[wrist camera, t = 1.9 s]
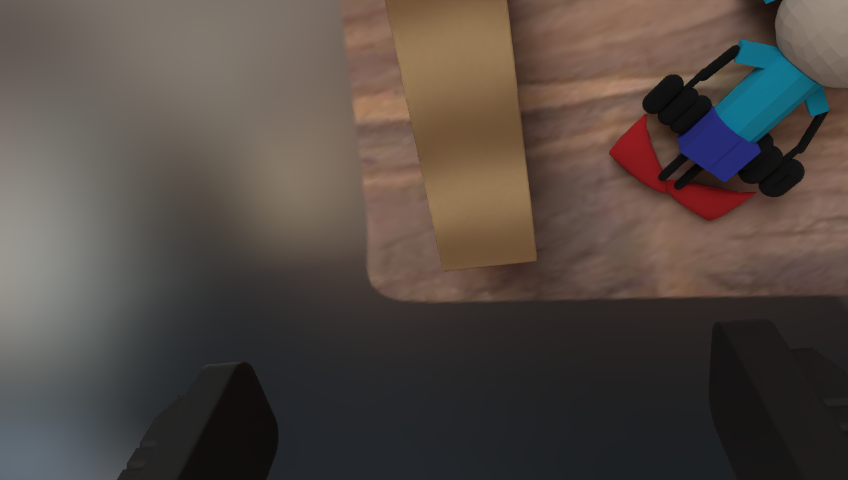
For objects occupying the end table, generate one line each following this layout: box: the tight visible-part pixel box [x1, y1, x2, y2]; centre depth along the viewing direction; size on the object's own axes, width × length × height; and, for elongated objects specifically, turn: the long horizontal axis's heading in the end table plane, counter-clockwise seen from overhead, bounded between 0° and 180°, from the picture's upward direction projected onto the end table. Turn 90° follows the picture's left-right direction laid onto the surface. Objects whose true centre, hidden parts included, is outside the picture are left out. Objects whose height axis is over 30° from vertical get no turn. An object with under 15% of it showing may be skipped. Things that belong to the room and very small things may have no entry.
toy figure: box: [609, 0, 848, 221], centre depth 22 cm, size 8×5×15 cm
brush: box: [385, 0, 538, 271], centre depth 24 cm, size 12×4×4 cm, turn 11°
